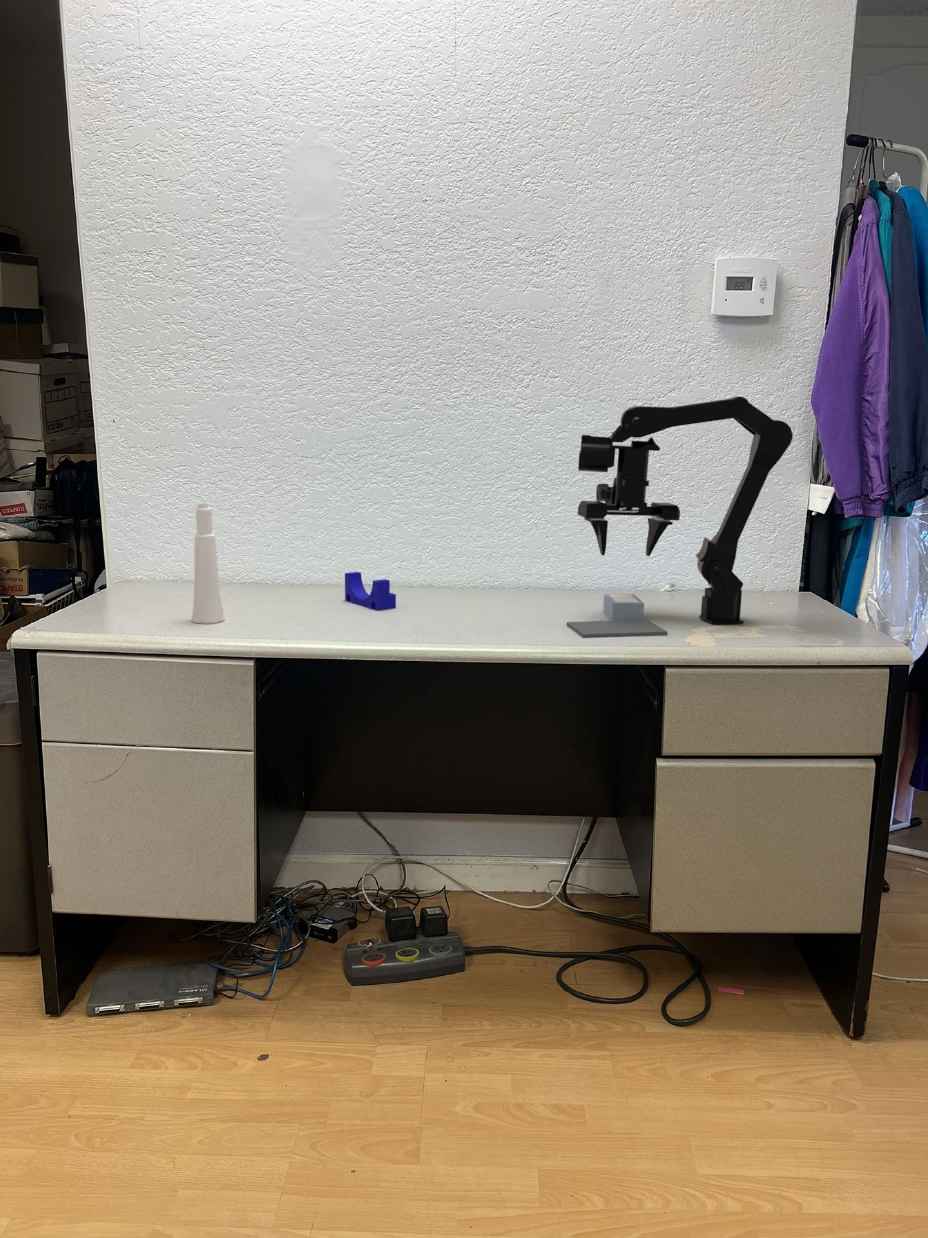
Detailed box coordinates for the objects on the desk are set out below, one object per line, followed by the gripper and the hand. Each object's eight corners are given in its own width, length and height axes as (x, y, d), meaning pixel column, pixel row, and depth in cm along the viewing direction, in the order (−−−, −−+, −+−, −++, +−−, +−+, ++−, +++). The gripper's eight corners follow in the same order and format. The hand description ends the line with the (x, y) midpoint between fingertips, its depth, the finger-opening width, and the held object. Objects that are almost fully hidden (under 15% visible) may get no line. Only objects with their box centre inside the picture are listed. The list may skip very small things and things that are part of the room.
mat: (647, 622, 190) (647, 619, 190) (667, 634, 180) (667, 631, 180) (566, 625, 187) (566, 622, 187) (582, 637, 177) (582, 634, 177)
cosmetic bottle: (191, 624, 183) (186, 504, 178) (191, 617, 188) (186, 501, 184) (225, 623, 184) (221, 504, 180) (224, 616, 190) (219, 500, 185)
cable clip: (395, 608, 200) (395, 579, 199) (377, 611, 197) (376, 581, 196) (363, 599, 209) (363, 571, 208) (345, 601, 207) (344, 573, 205)
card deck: (633, 613, 199) (633, 593, 198) (643, 623, 191) (644, 602, 190) (603, 613, 199) (604, 593, 198) (611, 623, 190) (612, 602, 189)
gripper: (661, 471, 198) (654, 549, 202) (571, 468, 194) (566, 548, 198) (684, 476, 188) (677, 558, 191) (590, 473, 184) (584, 557, 187)
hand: (625, 555), depth 192 cm, fingers open, 9 cm apart
